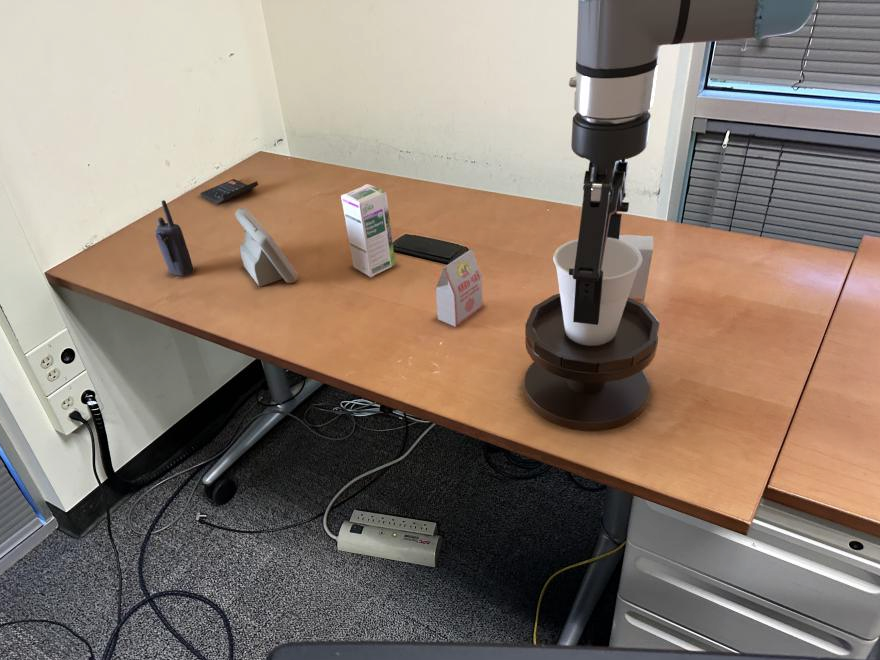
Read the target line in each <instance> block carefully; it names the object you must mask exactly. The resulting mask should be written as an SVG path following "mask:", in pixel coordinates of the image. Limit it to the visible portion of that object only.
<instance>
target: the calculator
mask: <svg viewBox="0 0 880 660" xmlns="http://www.w3.org/2000/svg"><path fill="white" fill-rule="evenodd" d="M257 186H259V182H258V181H257V180H256V181H254V182H251V183H249V184H246V183H245V182H243V181H240V180H238V179H235V178H232V179H230V180H227V181H225V182H223V183H220V184H218V185H216V186H214V187H210V188H209V189H206V190H204V191H202V192H199V194H200V197H202V198H204V199H206V200H207V201H209V202H212V203H214V204H216V205H219V204H221V203H223V202H226V201H228V200H230V199H233V198H235V197H237V196H240V195H241V194H244V193H246V192H248V191H251V190H253V189H254V188H256V187H257Z"/></svg>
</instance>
